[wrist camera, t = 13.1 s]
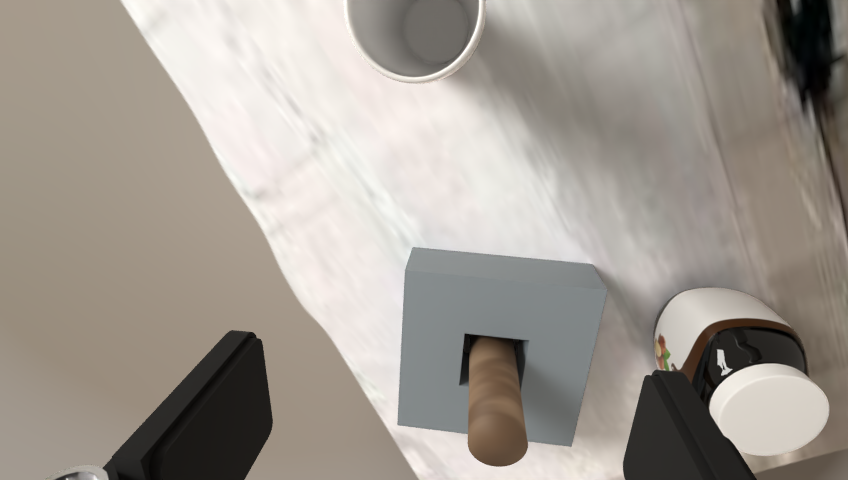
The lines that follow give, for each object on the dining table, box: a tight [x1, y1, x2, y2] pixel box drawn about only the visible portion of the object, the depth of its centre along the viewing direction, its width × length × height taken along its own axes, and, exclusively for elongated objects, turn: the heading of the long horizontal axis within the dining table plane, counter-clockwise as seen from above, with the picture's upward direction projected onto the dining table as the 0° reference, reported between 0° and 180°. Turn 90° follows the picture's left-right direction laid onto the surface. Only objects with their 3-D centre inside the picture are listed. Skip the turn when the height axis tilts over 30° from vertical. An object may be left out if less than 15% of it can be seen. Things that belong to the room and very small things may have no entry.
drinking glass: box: [344, 0, 486, 84], centre depth 28 cm, size 7×7×15 cm
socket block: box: [398, 247, 607, 447], centre depth 41 cm, size 16×16×5 cm
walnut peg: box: [468, 334, 528, 467], centre depth 37 cm, size 4×4×14 cm
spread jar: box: [653, 287, 829, 456], centre depth 36 cm, size 12×11×12 cm
